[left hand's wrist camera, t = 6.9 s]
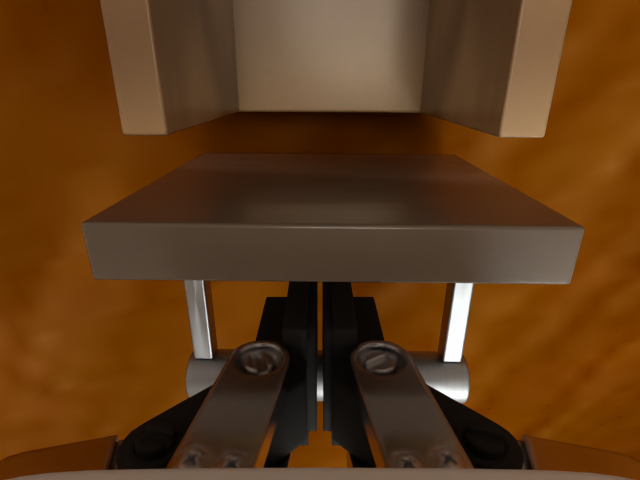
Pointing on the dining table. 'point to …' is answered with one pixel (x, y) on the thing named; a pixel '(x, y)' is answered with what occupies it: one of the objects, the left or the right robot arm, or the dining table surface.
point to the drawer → (334, 169)
